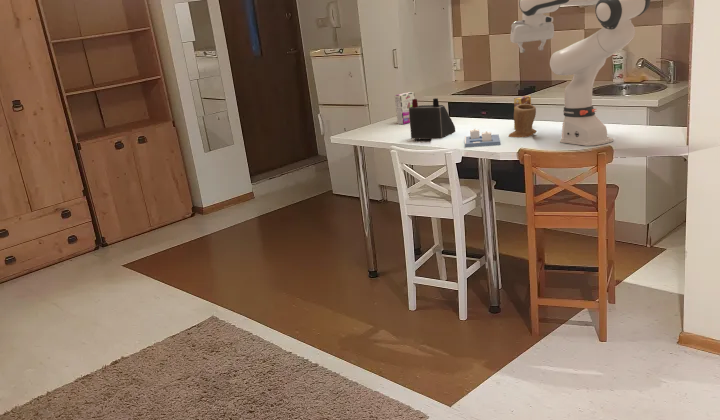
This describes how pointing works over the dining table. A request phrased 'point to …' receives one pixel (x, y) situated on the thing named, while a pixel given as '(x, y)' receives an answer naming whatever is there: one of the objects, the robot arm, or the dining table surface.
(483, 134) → the tab
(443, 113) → the voltmeter
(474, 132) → the tab
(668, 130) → the dining table surface
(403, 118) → the candy bar box
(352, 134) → the dining table surface
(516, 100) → the candy box
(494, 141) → the switch bank
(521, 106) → the brown hollow flared piece
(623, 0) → the robot arm
